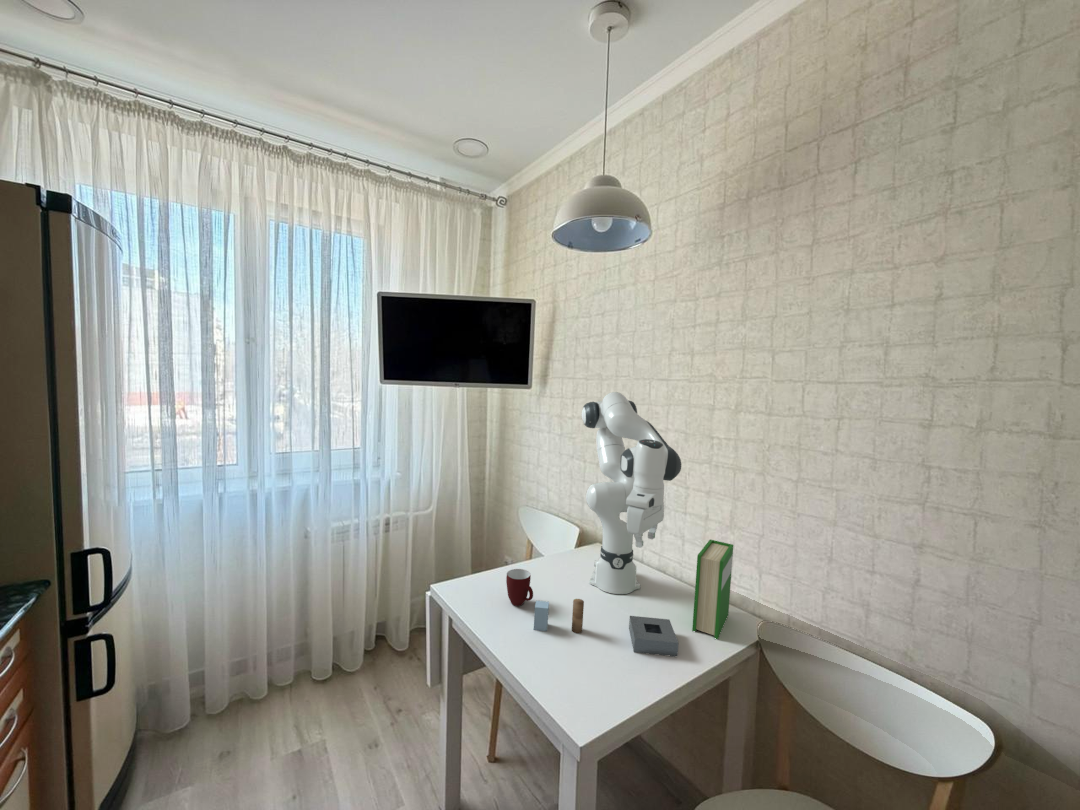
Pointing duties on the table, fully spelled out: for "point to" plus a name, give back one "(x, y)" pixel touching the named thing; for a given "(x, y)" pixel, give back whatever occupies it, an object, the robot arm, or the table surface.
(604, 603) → the table surface
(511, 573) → the mug
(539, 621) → the square peg
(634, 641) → the socket
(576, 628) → the round peg
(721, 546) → the hardback book
